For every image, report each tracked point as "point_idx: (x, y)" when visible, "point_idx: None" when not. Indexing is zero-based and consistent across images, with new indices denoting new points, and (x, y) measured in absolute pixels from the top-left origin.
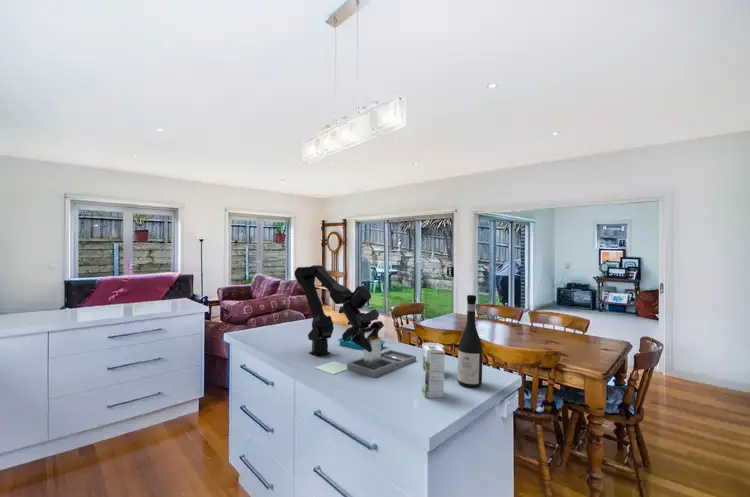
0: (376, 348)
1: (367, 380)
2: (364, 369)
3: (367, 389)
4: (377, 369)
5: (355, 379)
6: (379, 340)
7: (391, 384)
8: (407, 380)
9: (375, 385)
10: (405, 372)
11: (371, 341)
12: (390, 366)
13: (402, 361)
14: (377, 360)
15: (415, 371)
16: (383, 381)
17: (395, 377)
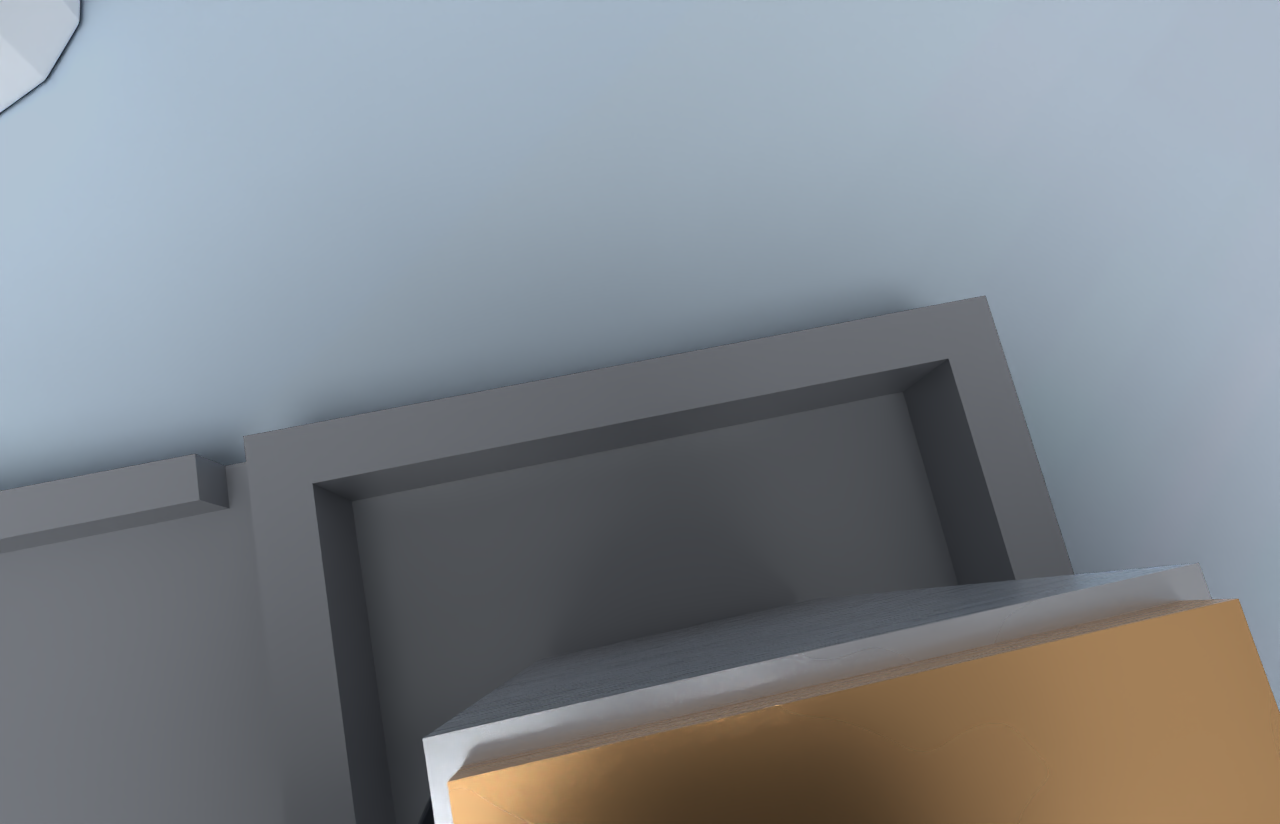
0: (755, 637)
1: (1065, 347)
2: (1053, 548)
3: (1234, 94)
4: (871, 344)
5: (1219, 494)
6: (585, 694)
7: (837, 34)
8: (531, 7)
9: (1061, 133)
10: (281, 258)
11: (1222, 650)
12: (472, 401)
13: (3, 496)
14: (646, 642)
15: (98, 195)
16: (868, 177)
17: (596, 191)
